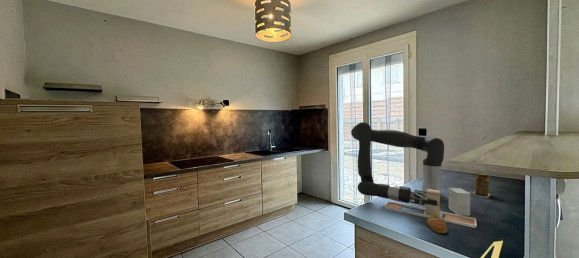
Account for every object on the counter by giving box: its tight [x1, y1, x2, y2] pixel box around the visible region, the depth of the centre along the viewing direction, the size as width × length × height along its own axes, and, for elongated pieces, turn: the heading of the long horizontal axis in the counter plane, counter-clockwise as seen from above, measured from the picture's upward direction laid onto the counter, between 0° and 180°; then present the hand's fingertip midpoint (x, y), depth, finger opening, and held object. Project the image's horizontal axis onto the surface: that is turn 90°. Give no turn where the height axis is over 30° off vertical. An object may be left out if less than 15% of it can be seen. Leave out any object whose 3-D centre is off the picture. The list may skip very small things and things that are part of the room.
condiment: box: [471, 172, 491, 199], centre depth 132 cm, size 7×8×12 cm
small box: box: [448, 187, 471, 217], centre depth 108 cm, size 8×6×10 cm
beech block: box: [425, 189, 441, 217], centre depth 105 cm, size 5×5×11 cm
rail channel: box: [383, 200, 478, 229], centre depth 107 cm, size 9×36×1 cm, turn 53°
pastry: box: [426, 216, 449, 234], centre depth 93 cm, size 9×7×4 cm
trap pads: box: [387, 203, 475, 225], centre depth 107 cm, size 7×35×1 cm, turn 53°
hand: (438, 200), depth 104 cm, fingers open, 8 cm apart
